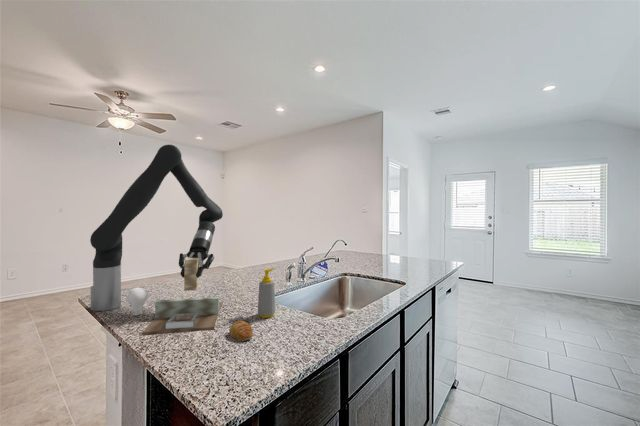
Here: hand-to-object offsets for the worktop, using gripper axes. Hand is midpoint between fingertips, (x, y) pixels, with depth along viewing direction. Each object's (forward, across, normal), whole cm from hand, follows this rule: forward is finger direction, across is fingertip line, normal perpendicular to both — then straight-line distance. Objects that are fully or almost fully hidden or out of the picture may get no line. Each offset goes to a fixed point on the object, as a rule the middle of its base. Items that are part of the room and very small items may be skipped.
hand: (190, 276), depth 113 cm
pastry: (+25, +25, -4) cm, 35 cm away
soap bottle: (+12, +31, +8) cm, 34 cm away
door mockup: (+14, +2, +7) cm, 15 cm away
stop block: (+3, 0, +5) cm, 6 cm away
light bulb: (+13, -18, +8) cm, 24 cm away
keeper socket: (+19, +3, +1) cm, 20 cm away
